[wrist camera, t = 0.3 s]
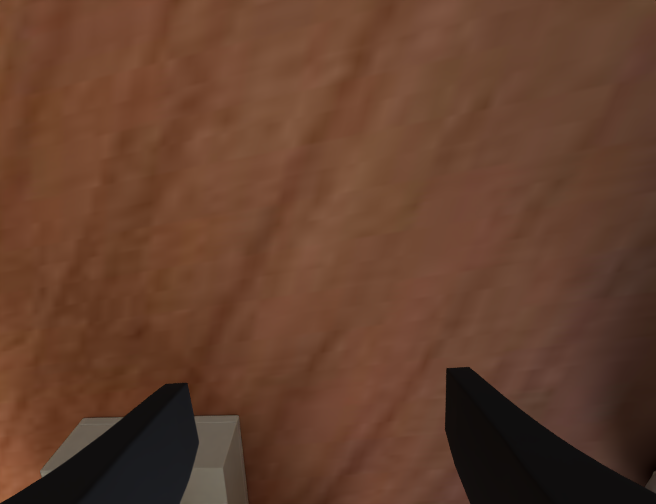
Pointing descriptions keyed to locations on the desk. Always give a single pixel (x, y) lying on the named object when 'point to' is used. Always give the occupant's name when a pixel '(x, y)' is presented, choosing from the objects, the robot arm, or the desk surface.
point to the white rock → (652, 483)
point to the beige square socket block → (209, 467)
